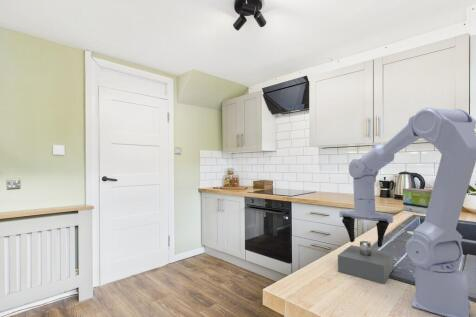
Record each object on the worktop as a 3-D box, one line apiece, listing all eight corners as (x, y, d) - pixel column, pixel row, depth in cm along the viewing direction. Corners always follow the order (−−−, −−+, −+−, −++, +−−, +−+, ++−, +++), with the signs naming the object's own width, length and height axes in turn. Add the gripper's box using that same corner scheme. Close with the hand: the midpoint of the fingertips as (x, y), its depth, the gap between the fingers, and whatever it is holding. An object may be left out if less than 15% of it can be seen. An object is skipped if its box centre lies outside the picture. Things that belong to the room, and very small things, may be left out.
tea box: (402, 210, 169) (401, 188, 170) (412, 209, 173) (411, 187, 174) (426, 214, 155) (425, 190, 156) (436, 212, 159) (435, 189, 160)
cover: (393, 269, 76) (392, 241, 76) (384, 284, 67) (383, 252, 67) (351, 259, 84) (351, 234, 84) (338, 271, 75) (337, 243, 75)
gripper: (394, 198, 75) (396, 245, 74) (344, 195, 84) (345, 236, 84) (389, 201, 69) (391, 251, 69) (336, 198, 79) (337, 241, 79)
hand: (365, 243), depth 76 cm, fingers open, 7 cm apart
